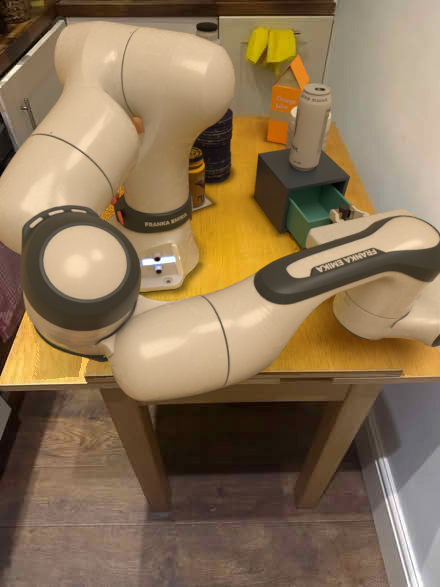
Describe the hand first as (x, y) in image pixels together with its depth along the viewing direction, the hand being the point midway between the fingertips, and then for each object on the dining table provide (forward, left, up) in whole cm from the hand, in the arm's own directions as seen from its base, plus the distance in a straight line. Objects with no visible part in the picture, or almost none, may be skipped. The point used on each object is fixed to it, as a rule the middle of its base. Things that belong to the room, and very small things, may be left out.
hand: (340, 210), depth 75 cm
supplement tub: (+9, +29, -10) cm, 32 cm away
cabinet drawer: (0, +6, -9) cm, 11 cm away
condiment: (-22, +25, -10) cm, 35 cm away
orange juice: (+13, +47, -10) cm, 50 cm away
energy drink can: (0, +15, +1) cm, 15 cm away
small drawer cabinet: (0, +15, -10) cm, 18 cm away
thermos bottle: (-9, +50, -10) cm, 52 cm away
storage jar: (-13, +35, -10) cm, 39 cm away
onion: (-29, +51, -10) cm, 60 cm away
